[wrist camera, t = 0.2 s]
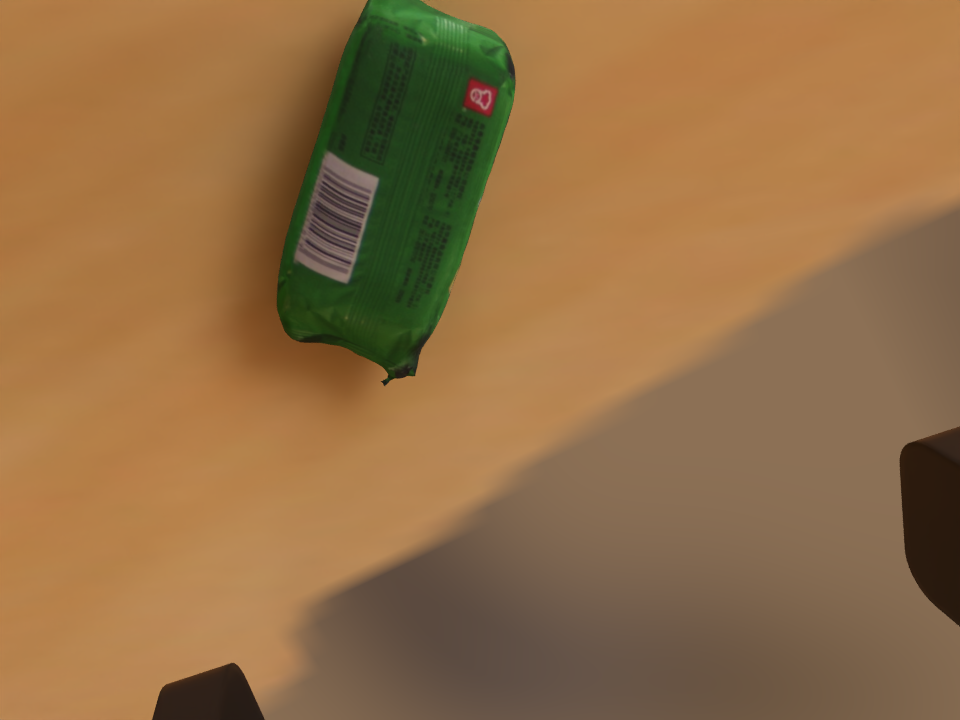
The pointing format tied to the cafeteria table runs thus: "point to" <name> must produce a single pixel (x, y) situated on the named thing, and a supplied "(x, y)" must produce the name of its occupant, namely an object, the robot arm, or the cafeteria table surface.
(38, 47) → the cafeteria table surface
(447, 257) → the snack package
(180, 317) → the cafeteria table surface
